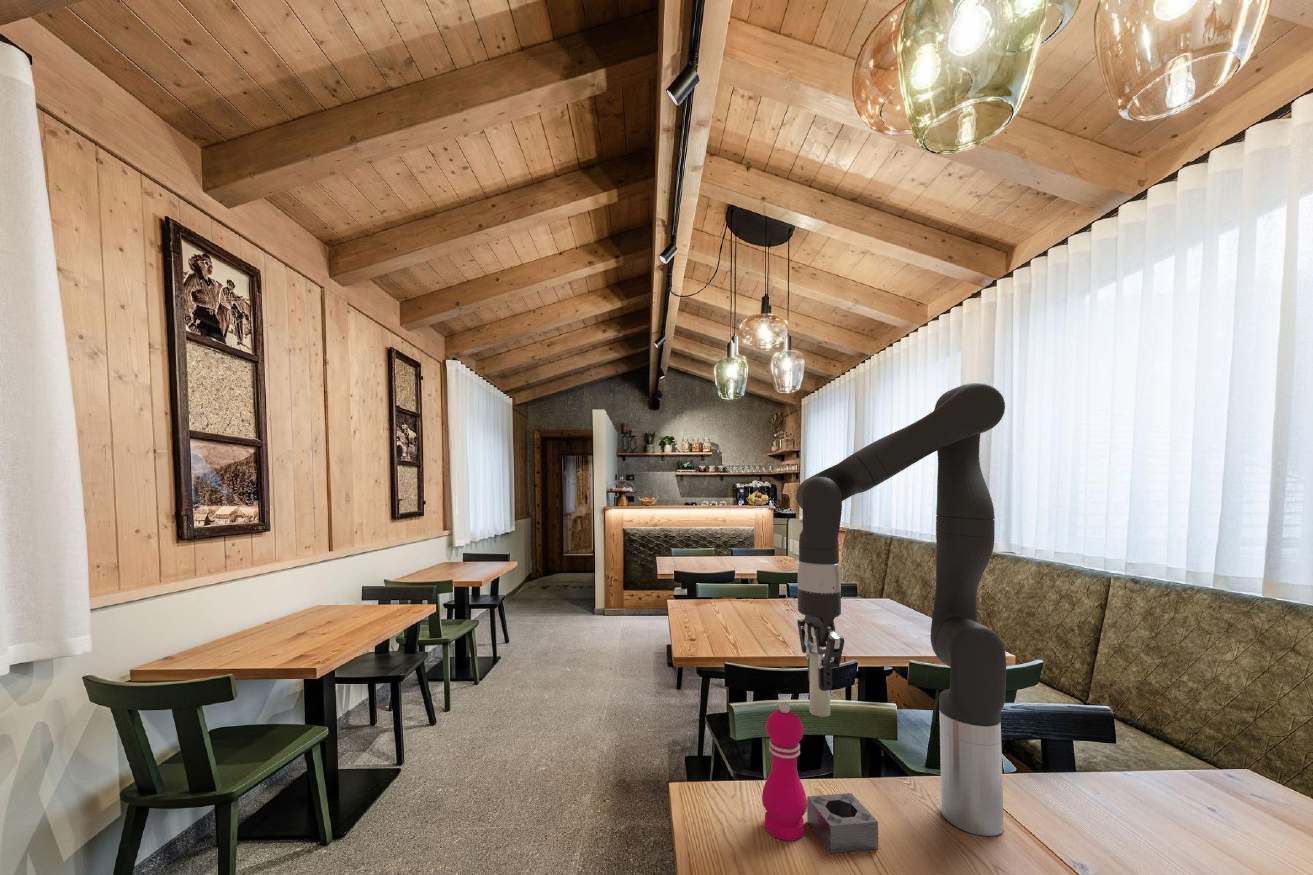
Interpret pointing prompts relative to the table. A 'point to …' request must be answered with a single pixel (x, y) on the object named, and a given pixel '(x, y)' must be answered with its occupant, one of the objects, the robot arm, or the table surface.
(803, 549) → the robot arm
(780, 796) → the pepper mill
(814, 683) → the candle
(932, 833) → the table surface
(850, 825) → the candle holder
